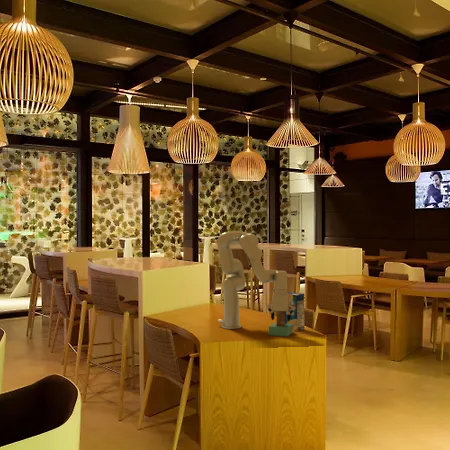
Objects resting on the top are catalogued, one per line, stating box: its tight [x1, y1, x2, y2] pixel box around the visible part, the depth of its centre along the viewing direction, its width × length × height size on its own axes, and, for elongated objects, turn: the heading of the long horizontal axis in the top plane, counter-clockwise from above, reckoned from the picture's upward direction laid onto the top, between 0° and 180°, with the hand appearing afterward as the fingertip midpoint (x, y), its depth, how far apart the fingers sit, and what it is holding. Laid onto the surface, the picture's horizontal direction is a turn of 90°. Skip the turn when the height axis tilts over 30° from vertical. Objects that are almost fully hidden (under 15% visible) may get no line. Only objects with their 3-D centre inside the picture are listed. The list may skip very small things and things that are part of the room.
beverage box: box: [285, 291, 305, 332], centre depth 320 cm, size 7×11×22 cm, turn 42°
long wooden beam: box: [276, 311, 285, 327], centre depth 308 cm, size 4×4×14 cm
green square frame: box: [268, 322, 294, 338], centre depth 308 cm, size 11×11×5 cm
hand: (280, 320), depth 308 cm, fingers open, 9 cm apart
